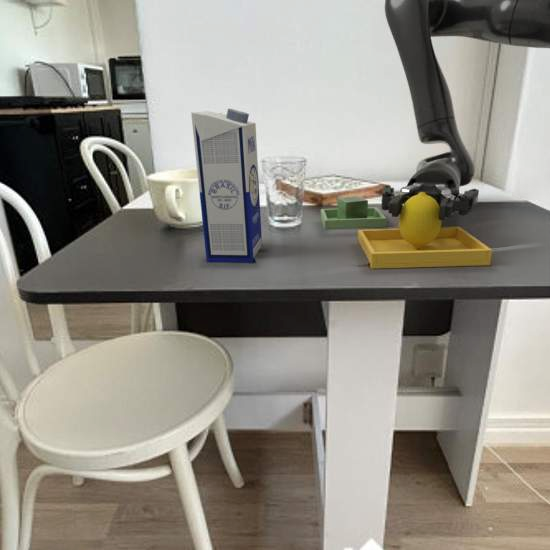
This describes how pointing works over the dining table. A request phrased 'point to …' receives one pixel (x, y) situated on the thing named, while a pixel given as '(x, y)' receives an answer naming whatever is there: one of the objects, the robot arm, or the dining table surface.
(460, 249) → the yellow tray
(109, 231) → the dining table surface
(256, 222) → the milk carton
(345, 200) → the green block
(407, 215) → the lemon
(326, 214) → the green tray
